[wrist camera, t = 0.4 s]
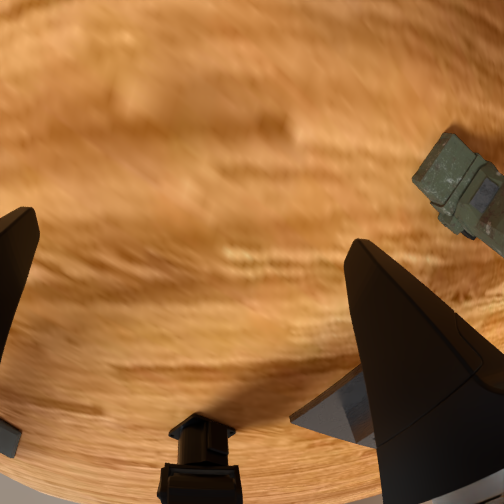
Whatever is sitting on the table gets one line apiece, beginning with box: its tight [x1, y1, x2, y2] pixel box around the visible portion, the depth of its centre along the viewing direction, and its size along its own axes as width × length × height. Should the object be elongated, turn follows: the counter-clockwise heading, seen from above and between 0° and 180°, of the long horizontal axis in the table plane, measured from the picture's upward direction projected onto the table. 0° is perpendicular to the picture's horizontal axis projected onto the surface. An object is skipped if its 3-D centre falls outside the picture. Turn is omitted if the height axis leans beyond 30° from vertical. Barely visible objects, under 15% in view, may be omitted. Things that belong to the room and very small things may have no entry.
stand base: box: [289, 364, 377, 449], centre depth 34 cm, size 18×18×7 cm
